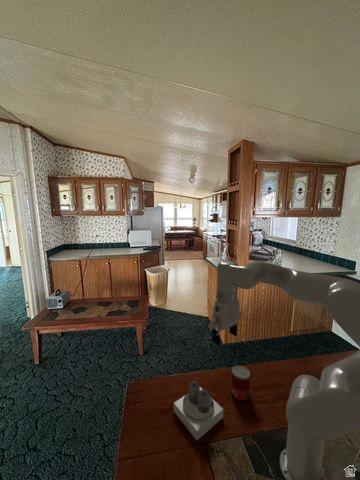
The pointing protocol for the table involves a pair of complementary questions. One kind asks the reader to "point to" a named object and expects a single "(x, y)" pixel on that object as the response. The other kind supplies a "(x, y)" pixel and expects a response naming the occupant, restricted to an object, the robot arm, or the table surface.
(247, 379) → the canned food
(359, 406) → the robot arm
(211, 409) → the pan
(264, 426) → the table surface
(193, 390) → the spacer
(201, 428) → the scale
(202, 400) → the spacer
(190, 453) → the table surface
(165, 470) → the table surface
